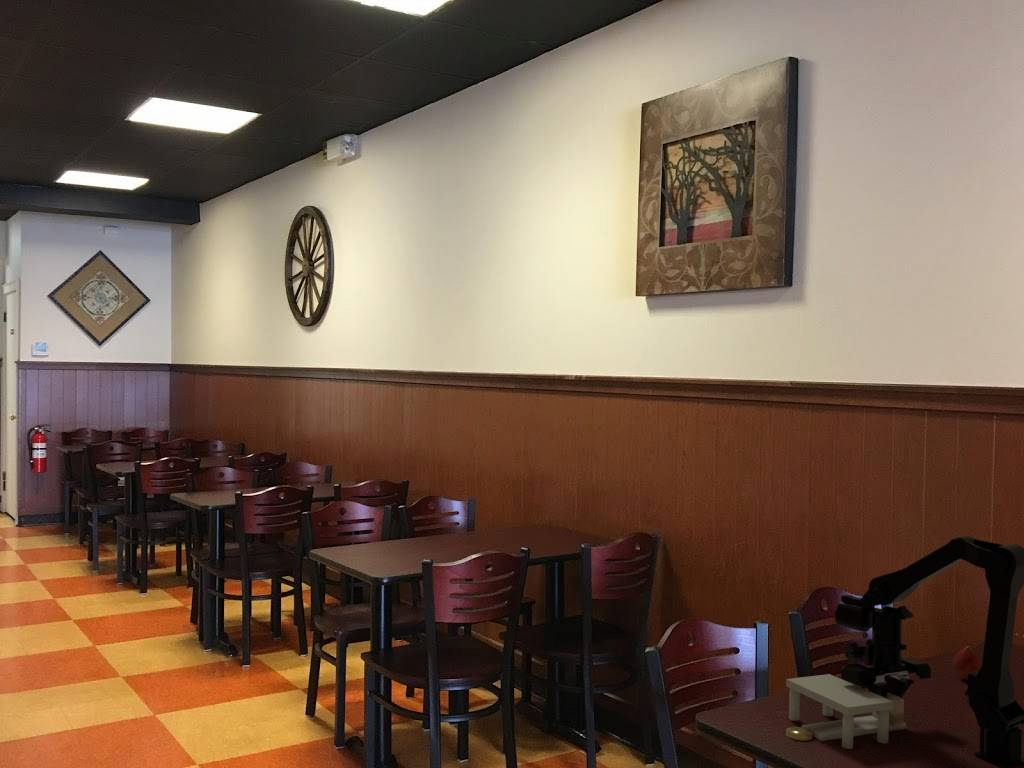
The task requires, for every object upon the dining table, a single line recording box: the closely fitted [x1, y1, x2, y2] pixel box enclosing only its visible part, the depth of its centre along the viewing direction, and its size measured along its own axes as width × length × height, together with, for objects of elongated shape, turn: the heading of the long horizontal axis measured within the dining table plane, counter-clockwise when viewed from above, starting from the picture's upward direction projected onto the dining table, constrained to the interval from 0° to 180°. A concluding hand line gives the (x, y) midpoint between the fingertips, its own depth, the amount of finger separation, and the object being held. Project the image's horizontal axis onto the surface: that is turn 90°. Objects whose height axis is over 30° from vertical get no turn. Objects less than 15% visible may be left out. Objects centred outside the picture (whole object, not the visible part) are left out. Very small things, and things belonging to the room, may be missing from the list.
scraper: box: [801, 693, 907, 742], centre depth 194 cm, size 6×21×6 cm, turn 112°
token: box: [785, 726, 814, 742], centre depth 190 cm, size 5×5×1 cm
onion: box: [952, 645, 982, 681], centre depth 229 cm, size 6×6×8 cm
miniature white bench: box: [785, 673, 893, 750], centre depth 193 cm, size 18×11×8 cm, turn 22°
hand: (884, 713), depth 198 cm, fingers closed on scraper, 2 cm apart
